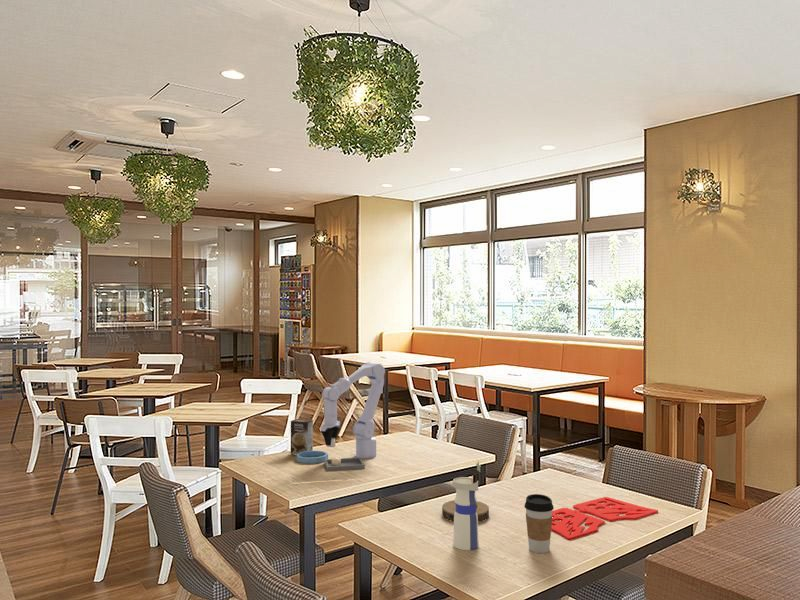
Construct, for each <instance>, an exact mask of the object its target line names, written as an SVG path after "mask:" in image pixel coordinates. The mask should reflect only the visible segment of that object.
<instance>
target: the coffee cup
mask: <svg viewBox="0 0 800 600" xmlns="http://www.w3.org/2000/svg"><path fill="white" fill-rule="evenodd" d="M523 507H524V508H525V519H526V520H525V522H526V530H527V531H526V532H527V541H528V542H527V543H528V550H529V551H531V552H533V553H536V554H546V553H548V552H549V551H550V548H551V545H550V544H551V537H552V536H551V535H552V531H551V526H552V511H554V510H555V509H554V505H553V501H552V498H551V497H549V496H548V495H546V494H545V495H544V494H540V493H539V494H538V493H535V494H528V495H527V496H526V499H525V502H524V506H523Z"/></svg>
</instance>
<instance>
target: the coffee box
mask: <svg viewBox="0 0 800 600" xmlns="http://www.w3.org/2000/svg"><path fill="white" fill-rule="evenodd" d="M313 431H314V420H312V419H301V418H295V419H293V420H290V455H291V454H298V453H300V452H304V451H314V450H313V449H314V448H313V447H314V446H313V445H314V443H313V442H314V439H313V437H314V432H313Z"/></svg>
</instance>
